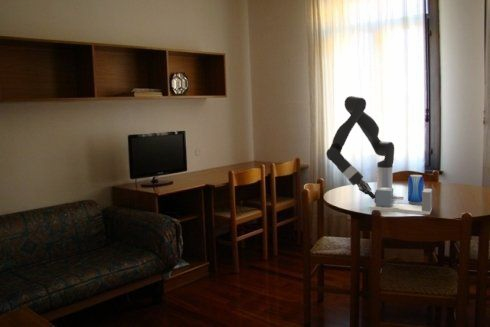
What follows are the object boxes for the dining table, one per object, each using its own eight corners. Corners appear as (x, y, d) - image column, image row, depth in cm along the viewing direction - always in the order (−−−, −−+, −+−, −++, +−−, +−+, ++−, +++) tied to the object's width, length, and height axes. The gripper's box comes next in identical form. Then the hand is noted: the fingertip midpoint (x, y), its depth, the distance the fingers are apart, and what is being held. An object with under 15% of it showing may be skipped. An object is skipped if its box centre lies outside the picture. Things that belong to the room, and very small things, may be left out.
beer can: (407, 200, 268) (408, 174, 265) (423, 201, 265) (423, 174, 262) (407, 204, 260) (408, 176, 258) (423, 204, 257) (423, 177, 255)
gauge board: (375, 204, 260) (375, 185, 258) (431, 209, 246) (432, 188, 245) (370, 209, 249) (371, 189, 248) (429, 214, 236) (430, 192, 234)
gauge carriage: (377, 202, 257) (377, 186, 256) (404, 204, 251) (404, 188, 249) (373, 206, 249) (373, 189, 248) (401, 208, 242) (401, 191, 241)
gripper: (354, 172, 250) (377, 196, 246) (360, 169, 262) (381, 191, 258) (345, 181, 253) (367, 204, 250) (351, 177, 265) (372, 199, 261)
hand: (374, 197), depth 254 cm, fingers closed
